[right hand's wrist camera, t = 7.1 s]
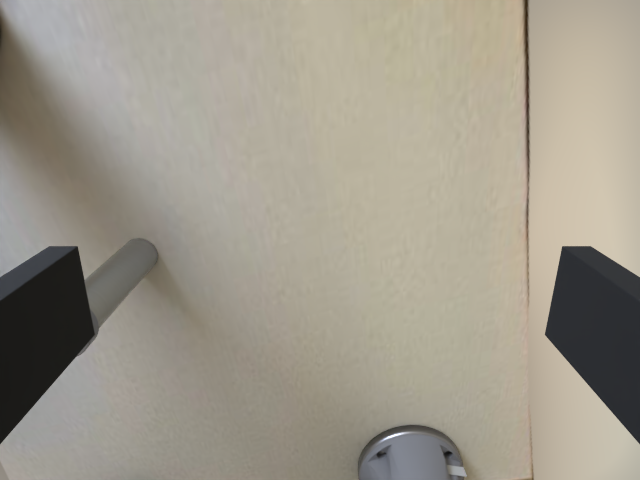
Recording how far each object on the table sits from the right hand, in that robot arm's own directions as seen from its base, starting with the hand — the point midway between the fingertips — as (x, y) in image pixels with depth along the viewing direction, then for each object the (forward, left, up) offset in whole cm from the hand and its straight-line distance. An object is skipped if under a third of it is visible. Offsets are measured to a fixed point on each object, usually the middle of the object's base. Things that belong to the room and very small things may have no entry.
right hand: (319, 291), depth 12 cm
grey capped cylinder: (-15, +22, -41) cm, 49 cm away
